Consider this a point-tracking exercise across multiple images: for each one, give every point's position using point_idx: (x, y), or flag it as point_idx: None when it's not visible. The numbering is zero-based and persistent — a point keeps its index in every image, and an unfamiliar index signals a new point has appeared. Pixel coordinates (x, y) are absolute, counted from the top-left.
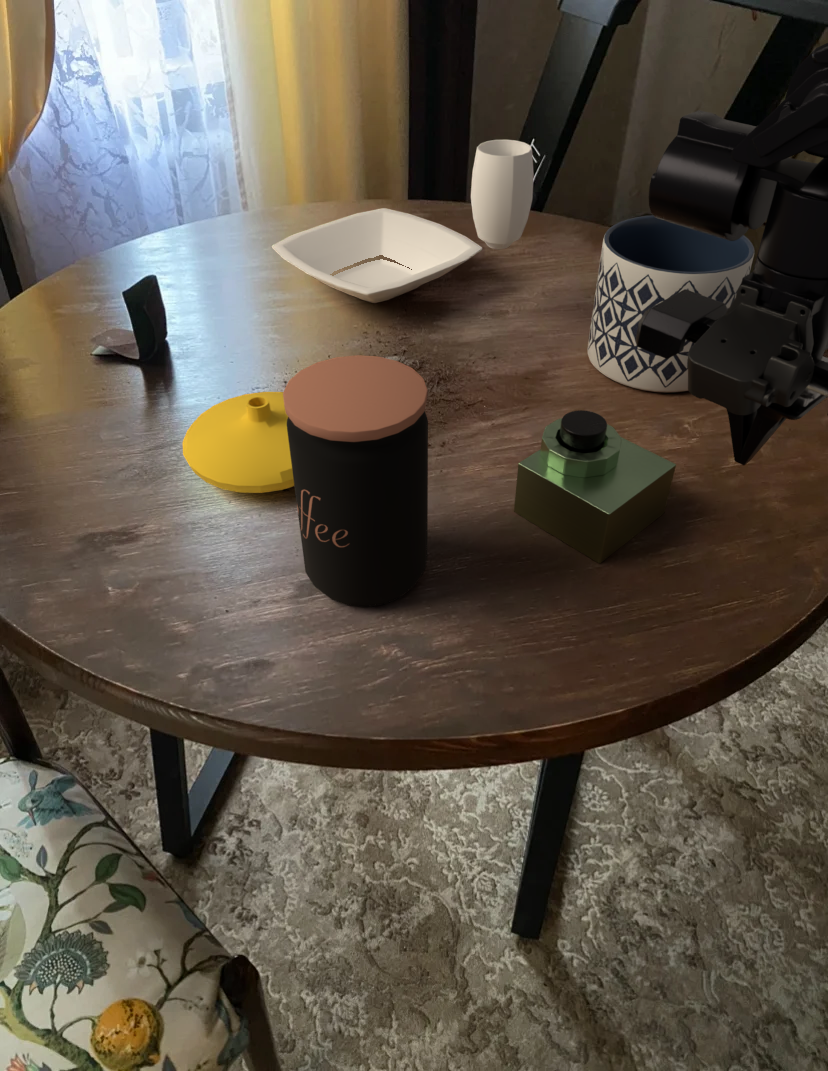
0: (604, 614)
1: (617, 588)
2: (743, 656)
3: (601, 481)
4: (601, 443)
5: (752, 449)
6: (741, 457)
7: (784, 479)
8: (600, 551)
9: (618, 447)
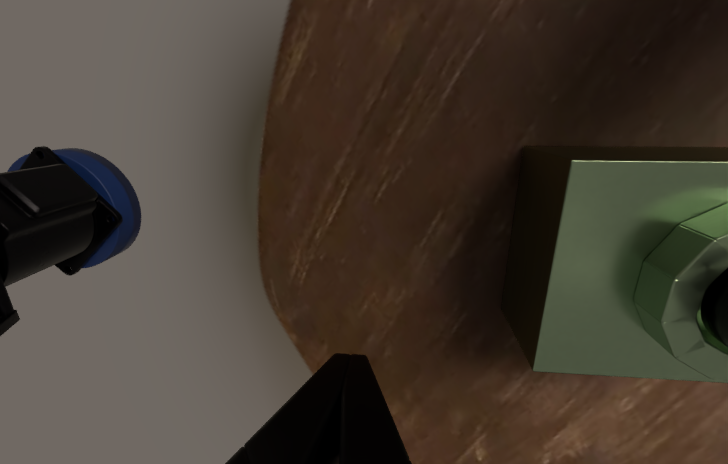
0: (455, 53)
1: (470, 120)
2: (266, 136)
3: (638, 239)
4: (715, 311)
5: (298, 396)
6: (342, 366)
7: (408, 455)
8: (535, 148)
9: (667, 328)
